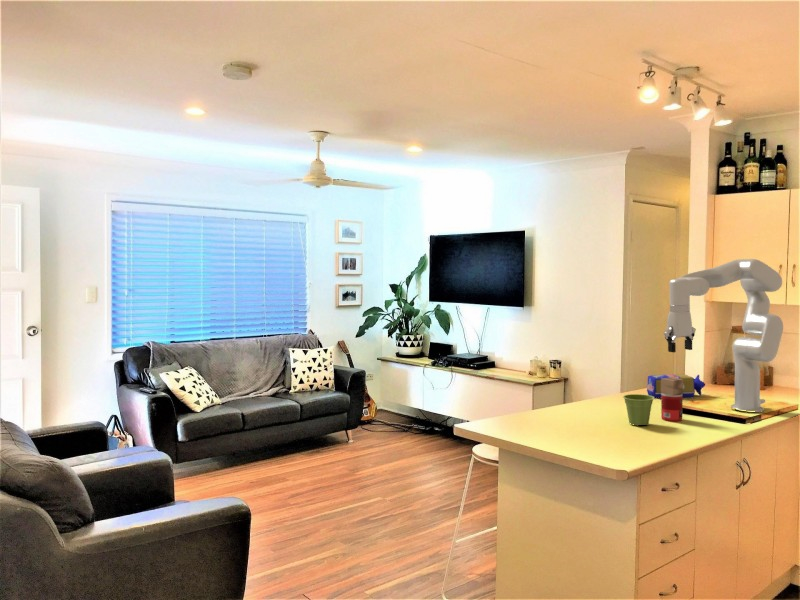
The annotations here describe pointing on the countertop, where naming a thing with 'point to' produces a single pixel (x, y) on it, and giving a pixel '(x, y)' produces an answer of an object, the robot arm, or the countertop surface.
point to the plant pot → (638, 408)
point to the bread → (688, 381)
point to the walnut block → (672, 386)
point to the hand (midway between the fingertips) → (680, 350)
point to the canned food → (671, 407)
